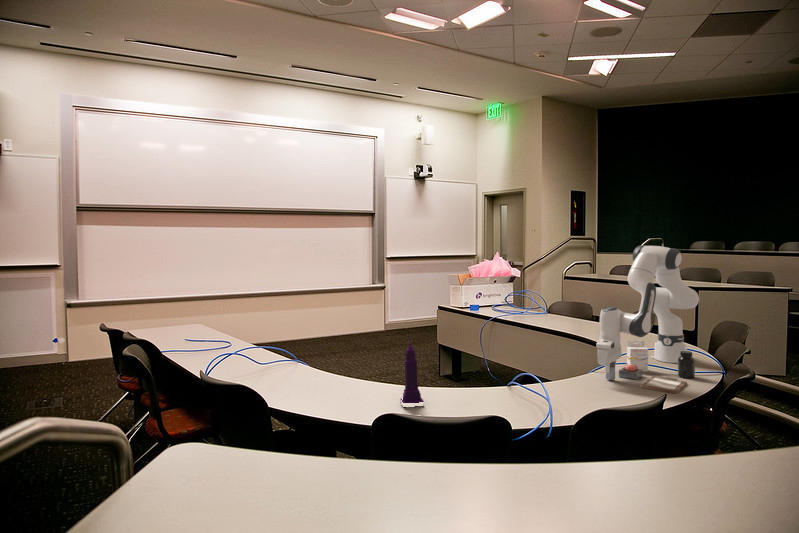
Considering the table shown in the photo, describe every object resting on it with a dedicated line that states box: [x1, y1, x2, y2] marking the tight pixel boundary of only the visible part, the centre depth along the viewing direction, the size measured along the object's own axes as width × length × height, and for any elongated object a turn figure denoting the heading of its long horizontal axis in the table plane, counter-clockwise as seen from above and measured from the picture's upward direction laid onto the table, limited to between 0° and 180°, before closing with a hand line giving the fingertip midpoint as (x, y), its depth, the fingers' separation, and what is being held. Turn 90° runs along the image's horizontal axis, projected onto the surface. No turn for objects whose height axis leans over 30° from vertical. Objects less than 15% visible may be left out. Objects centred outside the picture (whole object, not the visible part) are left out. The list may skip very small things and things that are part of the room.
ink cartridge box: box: [626, 340, 649, 373], centre depth 236 cm, size 9×5×15 cm, turn 84°
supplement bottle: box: [677, 350, 696, 380], centre depth 223 cm, size 7×7×12 cm
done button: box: [624, 364, 636, 372], centre depth 226 cm, size 4×4×3 cm
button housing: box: [618, 366, 643, 381], centre depth 226 cm, size 8×8×3 cm
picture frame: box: [640, 375, 688, 395], centre depth 211 cm, size 18×14×2 cm
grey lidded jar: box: [605, 361, 616, 381], centre depth 221 cm, size 4×4×8 cm
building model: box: [400, 337, 425, 403], centre depth 195 cm, size 9×6×30 cm
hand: (610, 370), depth 221 cm, fingers closed on grey lidded jar, 4 cm apart
